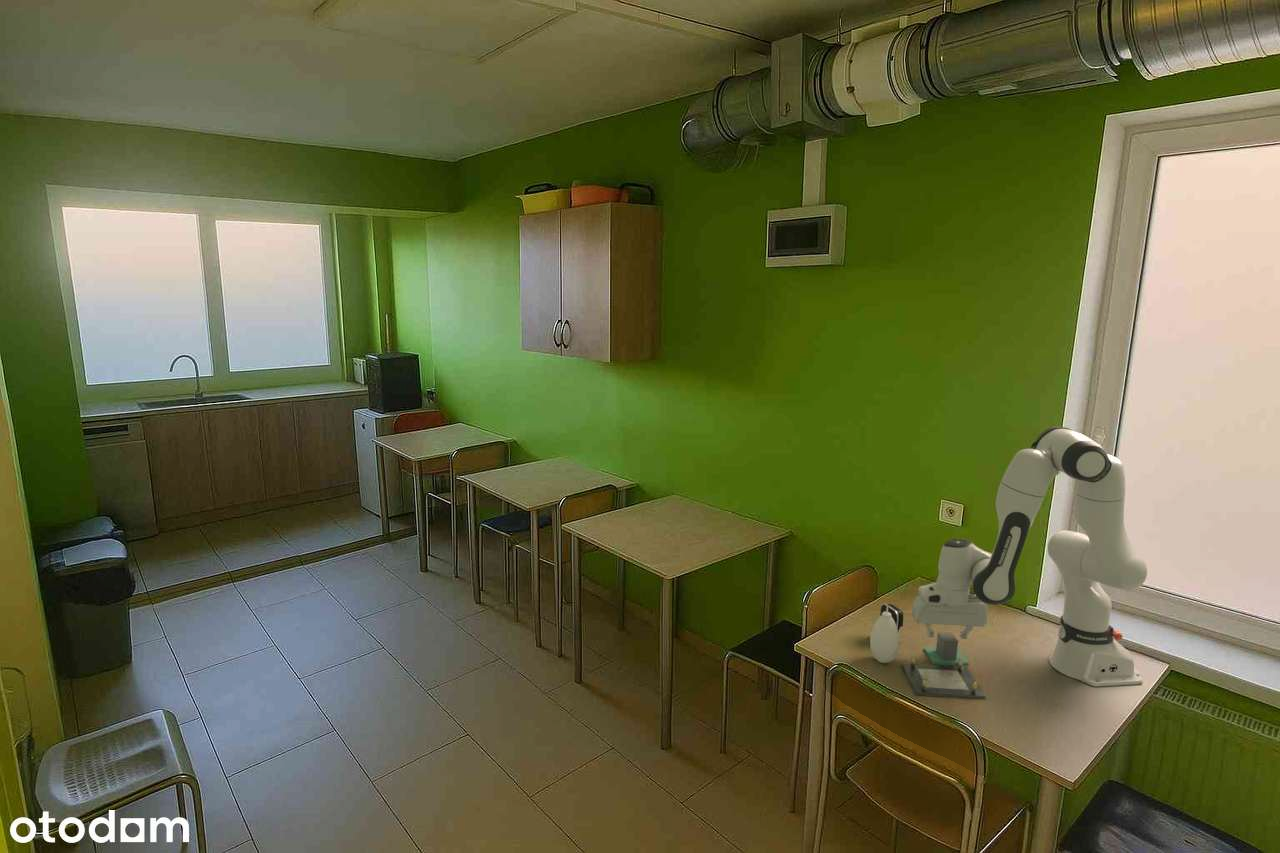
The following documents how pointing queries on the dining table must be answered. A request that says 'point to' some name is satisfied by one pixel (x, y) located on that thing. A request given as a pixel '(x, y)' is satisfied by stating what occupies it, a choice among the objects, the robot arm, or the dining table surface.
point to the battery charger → (894, 614)
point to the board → (944, 662)
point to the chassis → (942, 680)
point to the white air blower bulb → (884, 638)
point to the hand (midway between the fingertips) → (946, 637)
